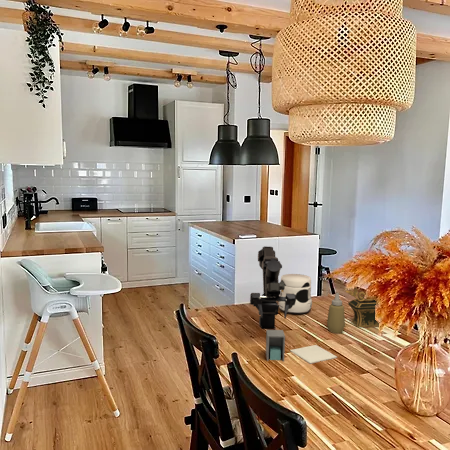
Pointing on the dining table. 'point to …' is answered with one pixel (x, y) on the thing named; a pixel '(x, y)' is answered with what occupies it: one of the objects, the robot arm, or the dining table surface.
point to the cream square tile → (313, 354)
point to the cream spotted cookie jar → (297, 293)
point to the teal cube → (275, 353)
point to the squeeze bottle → (336, 316)
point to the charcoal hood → (275, 341)
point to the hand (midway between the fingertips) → (273, 317)
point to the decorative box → (363, 310)
